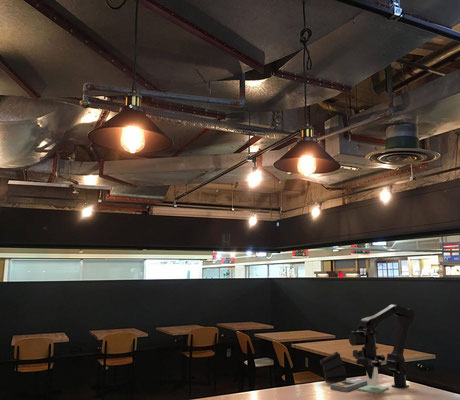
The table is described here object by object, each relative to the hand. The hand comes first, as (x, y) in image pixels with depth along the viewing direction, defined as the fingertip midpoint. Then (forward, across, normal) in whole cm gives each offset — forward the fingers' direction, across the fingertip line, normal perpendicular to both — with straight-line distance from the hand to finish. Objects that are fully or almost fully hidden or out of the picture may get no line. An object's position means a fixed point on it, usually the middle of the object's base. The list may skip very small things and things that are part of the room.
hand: (372, 378), depth 210 cm
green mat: (+5, 0, 0) cm, 5 cm away
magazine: (+6, -5, -25) cm, 26 cm away
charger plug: (+3, 0, 0) cm, 3 cm away
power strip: (+5, -2, -12) cm, 13 cm away
